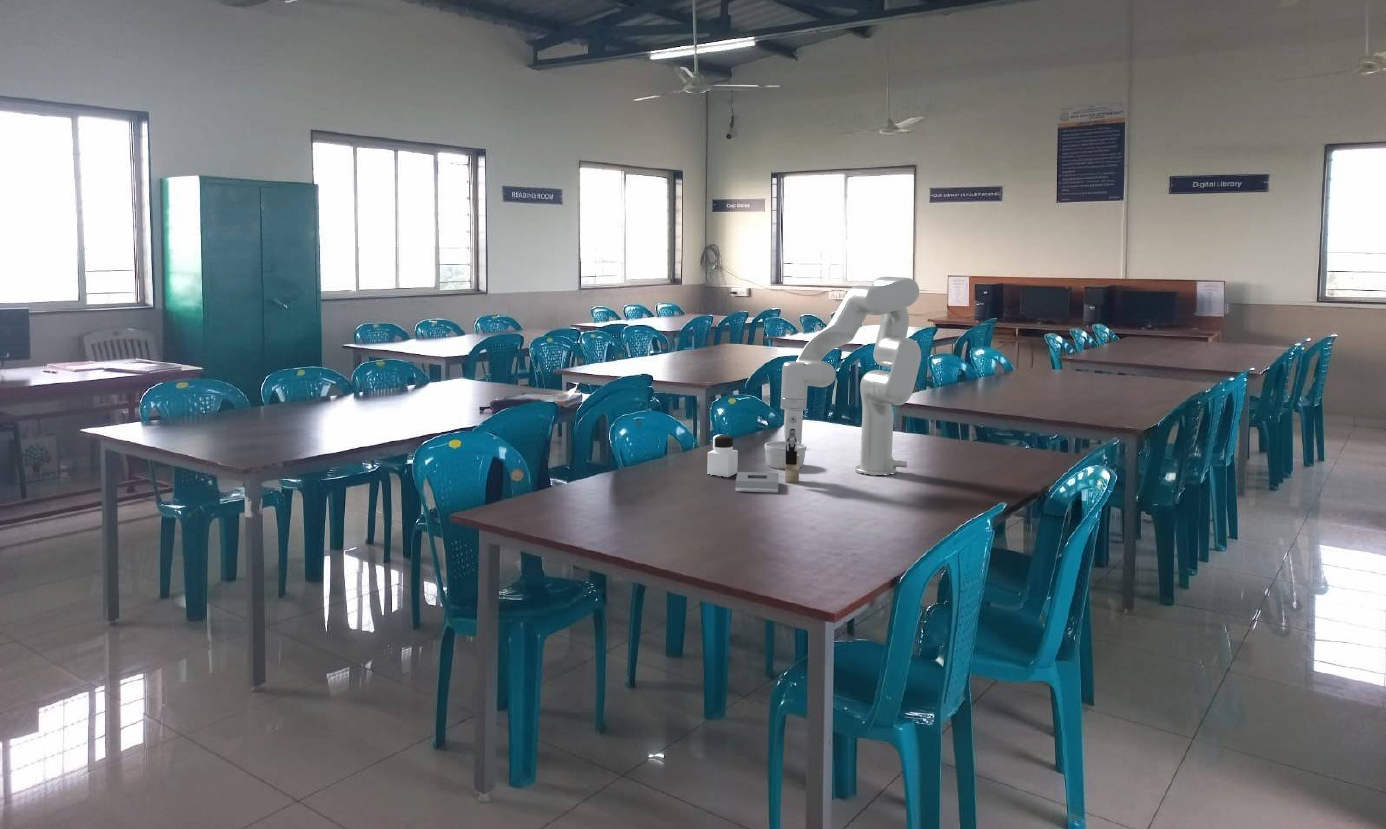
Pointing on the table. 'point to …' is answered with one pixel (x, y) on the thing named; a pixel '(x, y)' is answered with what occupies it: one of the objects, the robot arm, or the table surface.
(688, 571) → the table surface
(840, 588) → the table surface
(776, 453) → the ramekin
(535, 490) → the table surface
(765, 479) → the plate
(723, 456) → the medicine bottle
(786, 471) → the beige upright block
